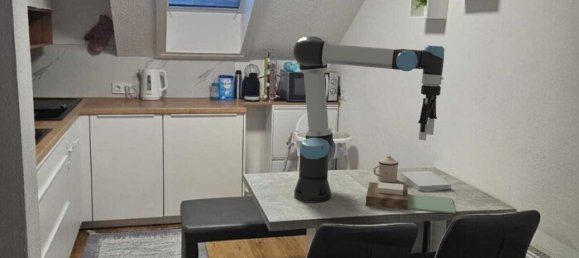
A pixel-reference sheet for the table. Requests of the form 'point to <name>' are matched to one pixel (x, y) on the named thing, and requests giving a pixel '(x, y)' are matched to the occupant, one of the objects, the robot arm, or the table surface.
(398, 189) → the ceramic tile
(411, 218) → the table surface
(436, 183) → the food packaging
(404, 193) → the walnut board
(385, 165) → the teacup with lid
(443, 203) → the rubber mat
